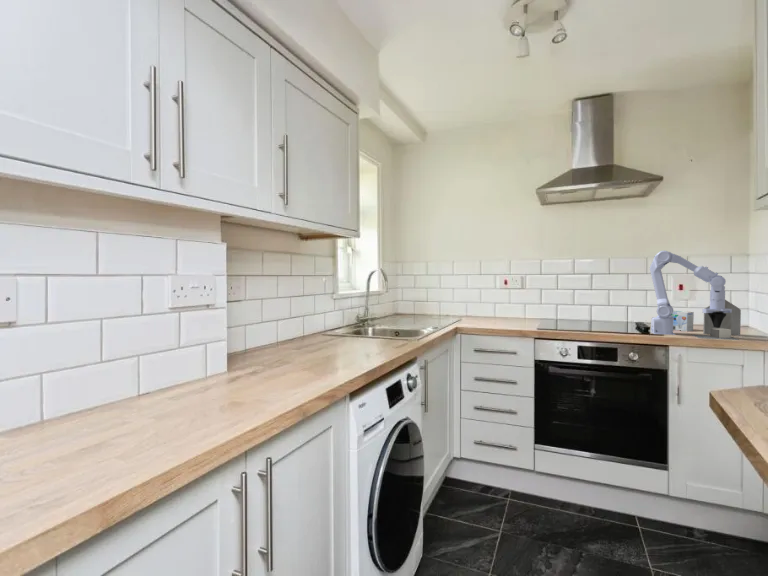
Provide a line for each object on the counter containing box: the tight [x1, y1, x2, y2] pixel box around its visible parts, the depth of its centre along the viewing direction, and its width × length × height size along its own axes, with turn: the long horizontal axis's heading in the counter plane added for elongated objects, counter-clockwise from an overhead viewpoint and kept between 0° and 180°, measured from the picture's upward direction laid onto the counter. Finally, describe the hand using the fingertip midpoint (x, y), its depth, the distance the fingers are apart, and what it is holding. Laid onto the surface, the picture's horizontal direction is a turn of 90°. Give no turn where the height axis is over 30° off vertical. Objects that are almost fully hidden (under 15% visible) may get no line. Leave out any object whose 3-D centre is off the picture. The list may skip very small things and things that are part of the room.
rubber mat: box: [691, 334, 740, 341], centre depth 195 cm, size 16×12×1 cm
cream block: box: [710, 329, 732, 338], centre depth 195 cm, size 4×4×7 cm
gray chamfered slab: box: [702, 299, 742, 337], centre depth 208 cm, size 16×8×19 cm, turn 77°
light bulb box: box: [671, 310, 695, 332], centre depth 225 cm, size 11×7×11 cm, turn 27°
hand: (716, 327), depth 195 cm, fingers closed
